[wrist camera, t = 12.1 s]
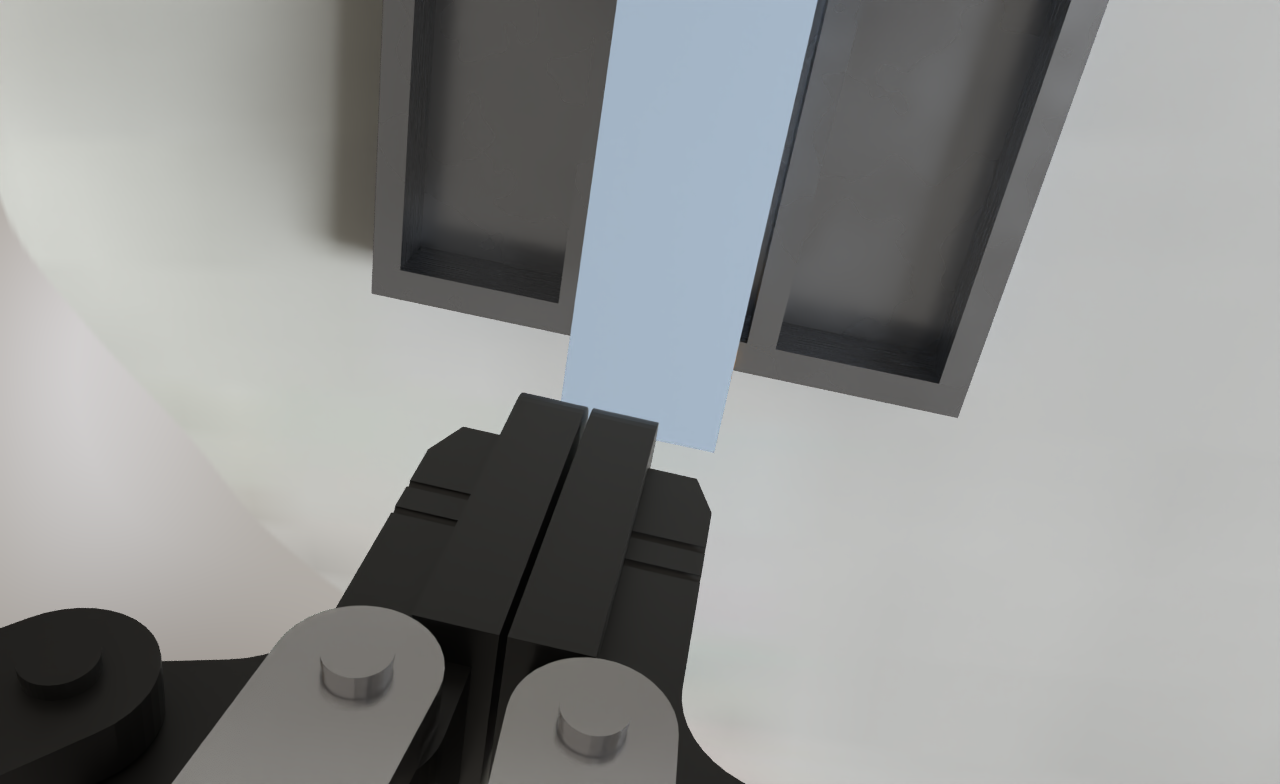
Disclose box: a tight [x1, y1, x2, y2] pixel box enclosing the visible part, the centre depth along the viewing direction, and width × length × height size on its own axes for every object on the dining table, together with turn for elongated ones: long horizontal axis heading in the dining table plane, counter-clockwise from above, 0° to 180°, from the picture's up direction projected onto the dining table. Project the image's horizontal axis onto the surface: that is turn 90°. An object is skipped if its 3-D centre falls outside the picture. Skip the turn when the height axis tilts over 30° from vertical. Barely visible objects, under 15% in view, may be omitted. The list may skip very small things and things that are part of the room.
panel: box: [561, 0, 818, 453], centre depth 22 cm, size 9×3×8 cm, turn 171°
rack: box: [372, 0, 1109, 418], centre depth 25 cm, size 12×15×3 cm
